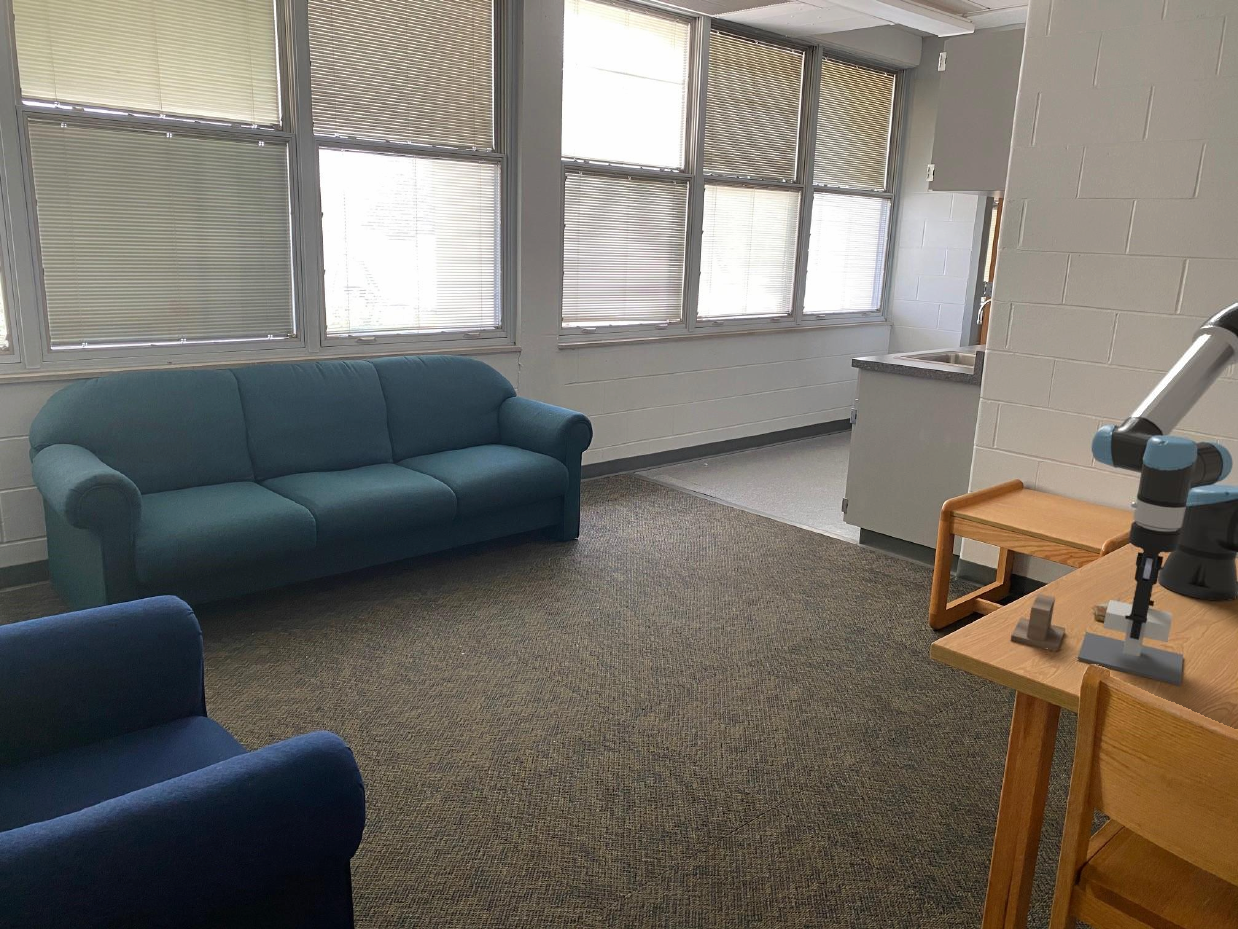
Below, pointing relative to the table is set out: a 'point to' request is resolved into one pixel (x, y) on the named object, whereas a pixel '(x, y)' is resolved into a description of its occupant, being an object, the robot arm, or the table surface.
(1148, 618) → the card box
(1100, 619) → the shard
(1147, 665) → the rubber mat
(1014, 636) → the walnut stand
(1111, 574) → the table surface
